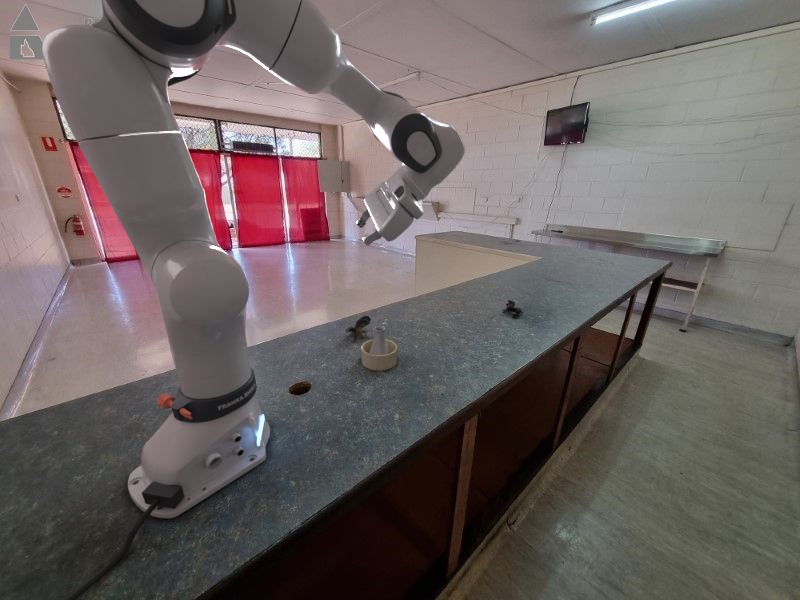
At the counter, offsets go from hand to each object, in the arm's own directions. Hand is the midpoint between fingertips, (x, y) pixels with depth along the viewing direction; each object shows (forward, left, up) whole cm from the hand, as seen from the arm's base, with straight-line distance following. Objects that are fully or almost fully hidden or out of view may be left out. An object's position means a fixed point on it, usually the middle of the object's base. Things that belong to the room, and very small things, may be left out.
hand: (361, 233), depth 75 cm
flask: (+4, -3, -36) cm, 37 cm away
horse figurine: (+59, -27, -36) cm, 74 cm away
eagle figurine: (+13, +11, -36) cm, 40 cm away
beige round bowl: (+4, -3, -36) cm, 37 cm away
